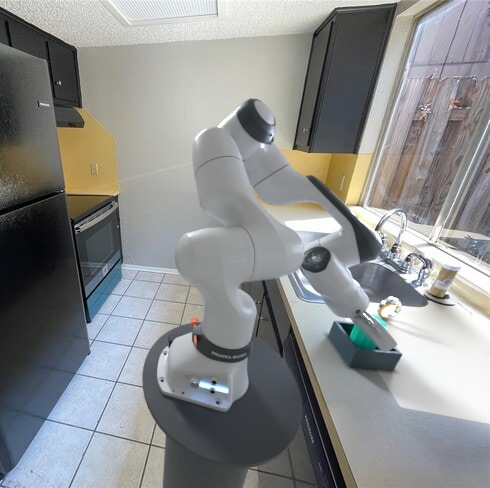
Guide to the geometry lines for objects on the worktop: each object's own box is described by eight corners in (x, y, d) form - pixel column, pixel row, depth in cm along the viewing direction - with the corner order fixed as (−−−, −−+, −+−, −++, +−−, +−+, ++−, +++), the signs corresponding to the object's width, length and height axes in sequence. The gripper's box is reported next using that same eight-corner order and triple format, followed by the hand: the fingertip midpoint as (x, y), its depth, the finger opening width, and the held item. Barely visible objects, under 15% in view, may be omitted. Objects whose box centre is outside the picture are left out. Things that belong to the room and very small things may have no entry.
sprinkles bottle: (434, 297, 98) (452, 266, 93) (424, 290, 102) (440, 260, 97) (447, 298, 98) (465, 267, 93) (436, 291, 102) (453, 261, 97)
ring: (391, 315, 87) (401, 296, 84) (399, 322, 84) (409, 302, 81) (370, 314, 87) (379, 294, 84) (377, 320, 84) (386, 300, 81)
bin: (349, 366, 67) (356, 350, 65) (328, 335, 77) (333, 320, 75) (393, 370, 66) (402, 354, 64) (366, 339, 77) (373, 323, 74)
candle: (359, 359, 68) (375, 324, 63) (341, 342, 74) (355, 309, 69) (377, 357, 69) (395, 322, 65) (358, 340, 75) (373, 307, 70)
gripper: (390, 320, 55) (416, 357, 58) (334, 272, 73) (356, 302, 77) (362, 335, 56) (389, 370, 60) (314, 285, 75) (337, 314, 79)
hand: (370, 331), depth 69 cm, fingers open, 8 cm apart
